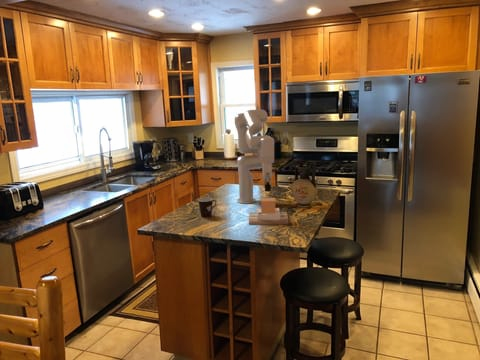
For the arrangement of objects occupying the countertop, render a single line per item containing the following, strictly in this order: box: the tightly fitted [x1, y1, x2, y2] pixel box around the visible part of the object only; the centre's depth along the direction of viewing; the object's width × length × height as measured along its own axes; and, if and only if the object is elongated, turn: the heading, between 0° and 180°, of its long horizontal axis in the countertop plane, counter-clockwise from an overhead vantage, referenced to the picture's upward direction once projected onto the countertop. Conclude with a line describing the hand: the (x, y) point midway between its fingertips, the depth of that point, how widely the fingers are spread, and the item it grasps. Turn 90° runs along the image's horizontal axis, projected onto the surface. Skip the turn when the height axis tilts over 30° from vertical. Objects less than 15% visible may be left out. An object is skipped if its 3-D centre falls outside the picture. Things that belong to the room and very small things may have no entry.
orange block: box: [260, 197, 276, 213], centre depth 223 cm, size 7×8×9 cm
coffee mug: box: [197, 197, 217, 218], centre depth 235 cm, size 12×9×10 cm
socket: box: [256, 207, 280, 220], centre depth 224 cm, size 13×13×4 cm
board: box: [248, 211, 289, 225], centre depth 224 cm, size 16×22×2 cm
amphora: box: [290, 158, 319, 208], centre depth 250 cm, size 18×17×30 cm
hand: (267, 189), depth 221 cm, fingers open, 9 cm apart
